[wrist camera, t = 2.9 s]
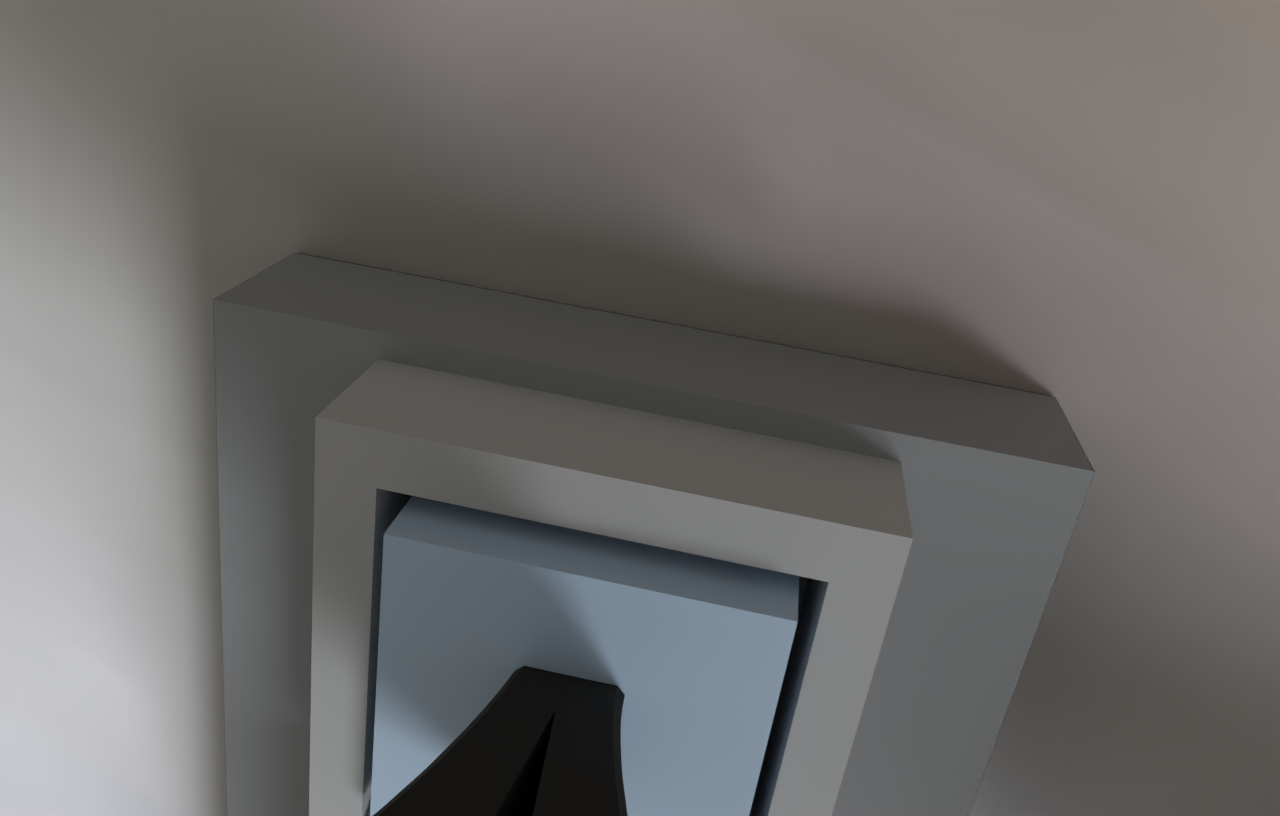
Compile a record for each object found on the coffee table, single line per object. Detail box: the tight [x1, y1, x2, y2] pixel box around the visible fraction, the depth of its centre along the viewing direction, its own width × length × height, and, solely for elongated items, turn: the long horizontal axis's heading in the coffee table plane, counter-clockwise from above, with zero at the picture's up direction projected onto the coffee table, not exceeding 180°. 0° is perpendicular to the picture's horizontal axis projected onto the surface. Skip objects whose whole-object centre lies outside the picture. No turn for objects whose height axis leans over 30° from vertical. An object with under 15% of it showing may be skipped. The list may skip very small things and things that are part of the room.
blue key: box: [370, 496, 799, 816], centre depth 15 cm, size 5×5×2 cm
